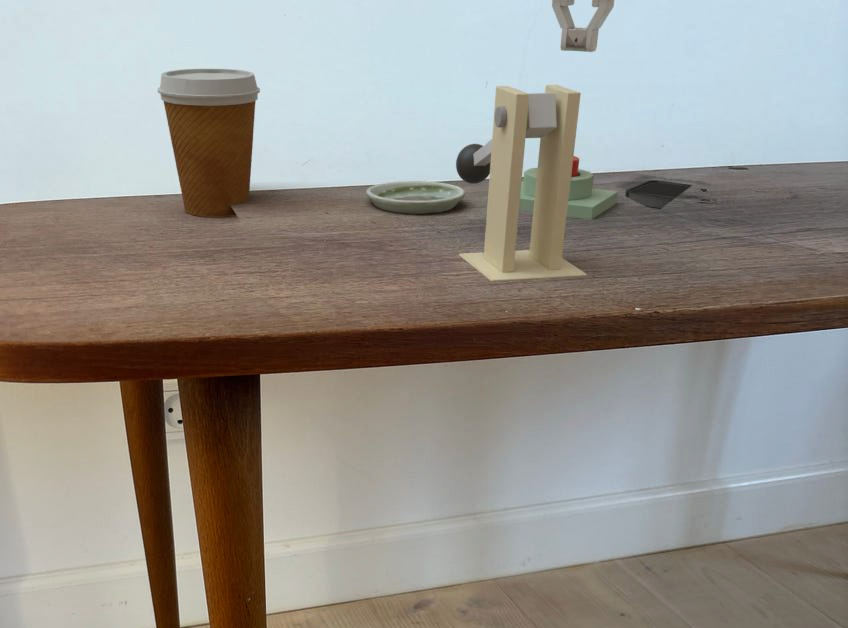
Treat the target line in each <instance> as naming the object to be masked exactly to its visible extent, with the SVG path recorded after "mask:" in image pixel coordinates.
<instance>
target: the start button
mask: <svg viewBox="0 0 848 628" xmlns="http://www.w3.org/2000/svg"><path fill="white" fill-rule="evenodd" d="M579 165H580V157H578V156H576V155H574V156H573V165H572V174H571V177H577V175H578V169H579Z"/></svg>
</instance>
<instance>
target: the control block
mask: <svg viewBox="0 0 848 628" xmlns="http://www.w3.org/2000/svg"><path fill="white" fill-rule="evenodd" d="M537 169H538V167H531V168H529V169H526V170H525V171H524V170H523V179H522V182H521V193H520V204H519V211H521V212H522V211H523V212H529V213H533V210H534V200H535V190H536V179H537ZM594 178H595V176H594V174H593V173H592V172H590V171H589V170H584V169H581V168H578V175H577V177H571V183H570V191H569V200H568V209H567V217H570V218H579V219H587V220H594V219H595V218H597V217H598V216H599V215H601V214H602V213H604V212H606V211H607V210H609V209H611V208H612V207H613V206H615V205H617V204H618V203H617V201H618V196H619V192H618V191H617V190H611V189H609V190H608V189H602V188H601V189H600V188H594V187H593V185H594V184H593V183H594Z"/></svg>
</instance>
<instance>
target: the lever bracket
mask: <svg viewBox="0 0 848 628" xmlns="http://www.w3.org/2000/svg"><path fill="white" fill-rule="evenodd" d="M544 93H555V100H556V122H557V127H556V128H555V129H554V130H552V131H551V132H549V133H548V134H547V135H545V136H544V137H543V138H539V139H540V140H539V148H538V149H539V150H538V159H537V168H538V169H537V179H536V190H535V200H534V210H533V212H532V220H531V221H532V223H531V232H530V242H529V249H522V250H521V249H520V250H516V249H517V236H518V225H519V214H520V210H519V204H520V193H521V182H522V181H523V172H524V170H523V169H524V157H525V148H526V138H525V137H526V126H527V115H528V104H529V93H528V92H526V91H522V90H520V89H517V88H514V87H512V86H509V85H497V86H495V98H494V110H493V124H492V137H491V139H492V150H491V164H490V174H489V176H488V179H489V180H488V191H487V192H488V193H487V205H486V206H487V207H486V217H485V218H486V221H485V234H484V246H483V247H484V249H483V252H465V253H459V254H458V256H459V257H460V258H462V259H463V260H464V261H466V262H467V263H468V264H469V265H470V266H472V267H473V268H474V269H476V270H477V271H478V272H479V273H480V274H481V275H482V276H484V278H486V279H487V280H488V281H490V282H491V283H493V282H510V281H512V282H513V281H526V280H542V279H543V280H544V279H561V278H577V277H588V274H587V273H586V272H584V271H583V270H581V269H579V268H578V267H576V266H575V265H574V264H572V263H570V262H569V261H568V260H566V259H565V258H563V254H564V253H563V251H564V243H565V235H566V226H567V219H568V216H567V209H568V200H569V191H570V183H571V174H572V165H573V156H575V146H576V145H575V144H576V138H577V128H578V120H579V112H580V105H581V104H580V103H581V93H582V92H579V91H577V90H573V89H571V88H567V87H564V86H561V85H558V84H545V88H544Z"/></svg>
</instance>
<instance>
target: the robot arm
mask: <svg viewBox="0 0 848 628" xmlns="http://www.w3.org/2000/svg"><path fill="white" fill-rule="evenodd" d="M574 4H575V0H552V1H551V8H552V10H553V12H554V15H555V17H556V20H557V22H558V25H559V27H560V29H561V36H560V46H559V47H560V50H561V51H563V52H564V51H565V52H582V53H583V52H585V53H586V52H587V53H593V52H596V50H597V47H598V40H599V31H600V29H601V28H602V26H603V24H604V23H605V21H606V20H607V18H608V17H609V15H610V13H611V11H613V9H614V7H615V0H591V7H592V8H597V9H596V11H595V12H594V14H593V16H592V17H591V19H590V20H589V22H588V25H587V26H586V27H576V25H575V23H574V19H573V17H572V14H571V10H570V8H569V7H571V6H574Z"/></svg>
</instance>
